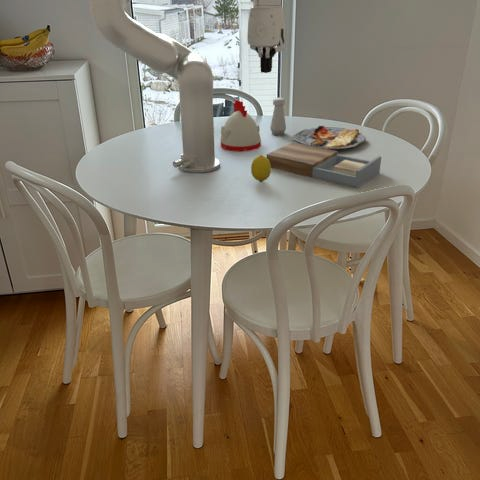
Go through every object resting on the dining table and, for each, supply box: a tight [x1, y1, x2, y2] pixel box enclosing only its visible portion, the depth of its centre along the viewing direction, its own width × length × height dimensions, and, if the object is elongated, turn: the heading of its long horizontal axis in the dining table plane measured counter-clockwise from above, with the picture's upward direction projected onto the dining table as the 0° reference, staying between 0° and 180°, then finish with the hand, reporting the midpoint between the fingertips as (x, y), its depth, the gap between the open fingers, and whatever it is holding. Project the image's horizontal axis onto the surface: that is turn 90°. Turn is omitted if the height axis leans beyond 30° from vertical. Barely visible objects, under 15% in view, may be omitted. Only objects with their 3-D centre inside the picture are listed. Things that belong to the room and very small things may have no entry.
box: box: [312, 153, 382, 189], centre depth 144 cm, size 15×14×5 cm
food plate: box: [292, 124, 367, 151], centre depth 174 cm, size 25×23×4 cm
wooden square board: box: [266, 142, 338, 179], centre depth 152 cm, size 15×16×4 cm
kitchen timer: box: [220, 99, 262, 152], centre depth 169 cm, size 14×14×15 cm
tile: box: [334, 160, 366, 176], centre depth 143 cm, size 7×7×2 cm
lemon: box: [250, 154, 272, 183], centre depth 139 cm, size 6×6×8 cm
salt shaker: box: [270, 97, 287, 136], centre depth 181 cm, size 6×6×13 cm
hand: (266, 71), depth 143 cm, fingers closed
